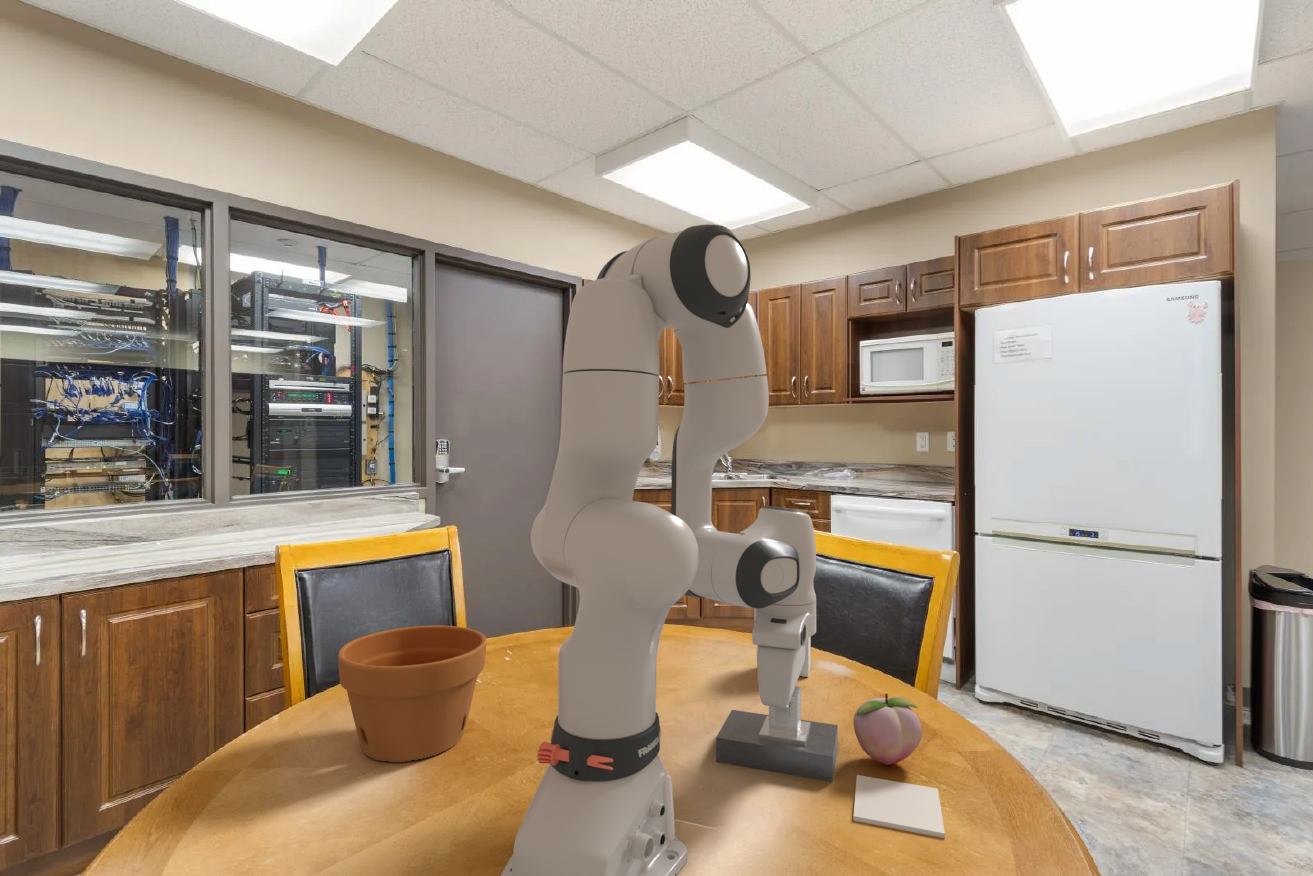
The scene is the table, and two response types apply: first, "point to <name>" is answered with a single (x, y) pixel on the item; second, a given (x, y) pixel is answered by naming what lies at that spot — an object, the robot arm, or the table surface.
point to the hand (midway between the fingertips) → (785, 714)
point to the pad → (898, 806)
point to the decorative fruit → (887, 729)
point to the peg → (793, 729)
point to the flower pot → (411, 688)
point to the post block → (777, 748)
